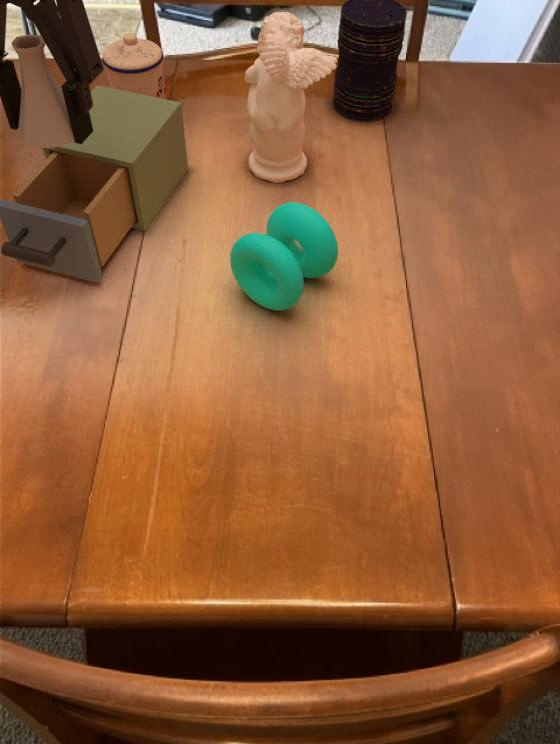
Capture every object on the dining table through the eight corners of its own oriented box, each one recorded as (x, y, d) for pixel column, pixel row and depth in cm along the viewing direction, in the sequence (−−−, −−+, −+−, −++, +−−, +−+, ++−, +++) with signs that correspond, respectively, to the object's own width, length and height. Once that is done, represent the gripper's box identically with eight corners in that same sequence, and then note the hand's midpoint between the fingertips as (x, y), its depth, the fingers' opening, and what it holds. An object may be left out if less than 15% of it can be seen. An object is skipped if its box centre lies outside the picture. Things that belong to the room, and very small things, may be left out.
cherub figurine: (267, 138, 104) (268, -14, 87) (342, 160, 101) (358, 6, 84) (230, 181, 98) (223, 26, 80) (309, 206, 95) (319, 49, 77)
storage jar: (320, 108, 110) (327, 13, 98) (351, 83, 115) (361, -11, 103) (373, 129, 107) (387, 33, 95) (403, 102, 112) (420, 7, 100)
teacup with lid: (171, 121, 107) (162, 48, 98) (112, 126, 106) (98, 52, 97) (166, 82, 114) (157, 10, 105) (111, 86, 113) (97, 14, 104)
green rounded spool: (226, 291, 84) (222, 228, 76) (276, 248, 89) (277, 185, 81) (291, 328, 80) (294, 266, 72) (339, 282, 85) (346, 218, 77)
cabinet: (145, 231, 91) (132, 163, 82) (61, 211, 93) (41, 142, 85) (188, 169, 99) (181, 102, 91) (110, 152, 102) (96, 85, 93)
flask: (85, 147, 74) (63, 57, 66) (16, 153, 73) (-14, 62, 65) (86, 111, 78) (66, 22, 70) (21, 116, 77) (-7, 26, 69)
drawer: (80, 307, 81) (63, 251, 74) (-4, 285, 83) (-28, 228, 76) (146, 216, 91) (136, 159, 84) (70, 198, 93) (54, 141, 86)
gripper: (-146, -116, 57) (-47, 130, 75) (69, -83, 53) (118, 167, 71) (-89, -142, 61) (-9, 95, 79) (113, -113, 58) (149, 129, 76)
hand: (51, 129), depth 75 cm, fingers closed on flask, 7 cm apart
